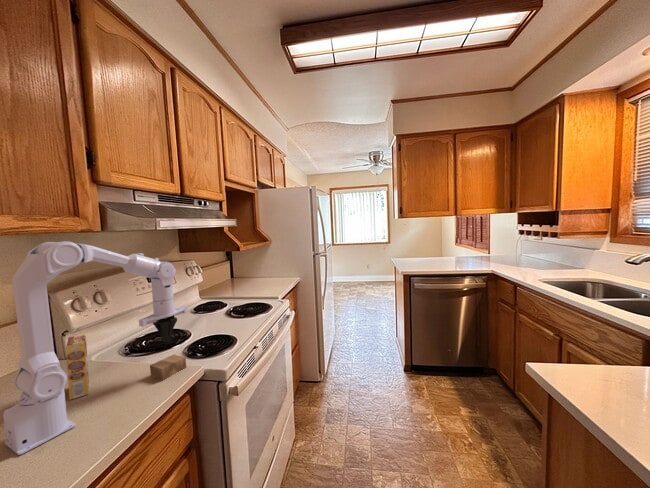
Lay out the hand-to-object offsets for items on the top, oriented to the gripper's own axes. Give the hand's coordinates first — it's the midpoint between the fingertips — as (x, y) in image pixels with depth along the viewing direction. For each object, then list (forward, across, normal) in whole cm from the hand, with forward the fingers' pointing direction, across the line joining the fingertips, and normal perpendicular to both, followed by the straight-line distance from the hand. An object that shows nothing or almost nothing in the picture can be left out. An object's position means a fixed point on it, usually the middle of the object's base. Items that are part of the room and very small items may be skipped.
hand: (166, 341), depth 89 cm
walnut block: (+9, +4, 0) cm, 9 cm away
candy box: (+11, +17, -15) cm, 25 cm away
